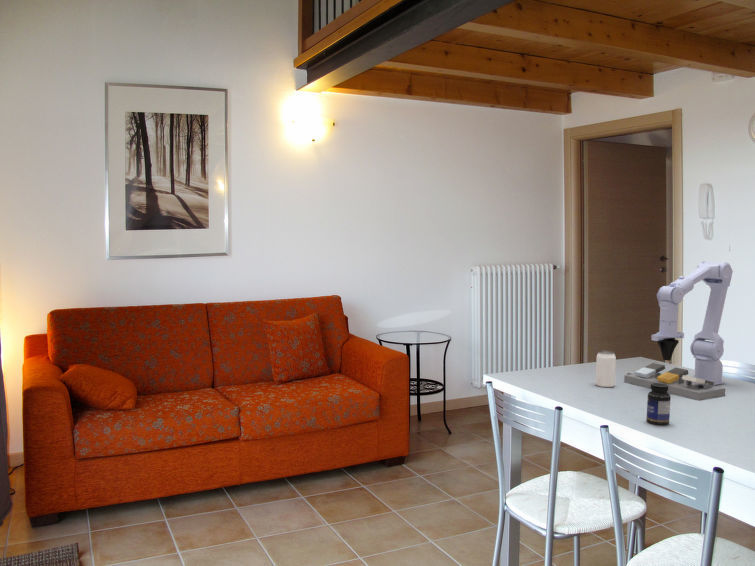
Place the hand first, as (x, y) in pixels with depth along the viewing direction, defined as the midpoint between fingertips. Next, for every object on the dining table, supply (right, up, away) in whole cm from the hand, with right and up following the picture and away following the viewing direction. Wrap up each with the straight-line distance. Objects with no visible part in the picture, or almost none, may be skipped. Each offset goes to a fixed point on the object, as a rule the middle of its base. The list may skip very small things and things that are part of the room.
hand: (666, 360), depth 238 cm
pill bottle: (-19, -14, -40) cm, 47 cm away
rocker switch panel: (+2, -10, +5) cm, 11 cm away
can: (-19, -10, +6) cm, 23 cm away
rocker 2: (+3, -6, +2) cm, 8 cm away
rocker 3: (+8, -7, -6) cm, 12 cm away
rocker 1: (-1, -6, +11) cm, 12 cm away
